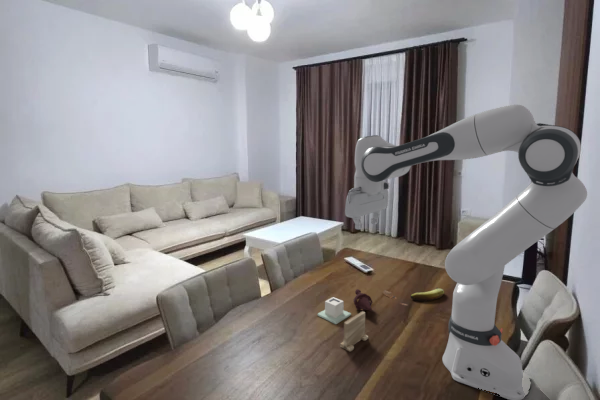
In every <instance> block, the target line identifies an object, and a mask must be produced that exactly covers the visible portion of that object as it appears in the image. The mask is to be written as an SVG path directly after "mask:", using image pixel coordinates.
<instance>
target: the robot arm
mask: <svg viewBox="0 0 600 400" xmlns="http://www.w3.org/2000/svg"><path fill="white" fill-rule="evenodd" d="M507 151H508V152H509V151H510V152H516V153H517V155H518V158H517V159H518V163H519V164H520V166H521V168H522V169H523V171H524V172H525V174H526V175H527V177H528V178H529V180H530V182H531V183H530V184H529V185H528V186H526V188H524V189H523V190H522V191H521V192H520V193H518V194H517V195H516V196H515V197H514V198H512V199H511V200H510V201H509V202H508V203H507V204H506V205H504V206H503V207H502V208H501V209H500V210H498V211H497V212H496V213H494V215H493V216H491V217H490V218H489V219H487V220H486V221H485V222H483V223H482V224H481V225H479V227H477V228H476V229H474V230H473V231H472V232H471V233H470V234H468V235H466V237H464V238H463V239H462V240H461V241H459V242H458V243H457V244H456V245H455V246H453V248H452V249H451V250H450V251H449V252H448V254H447V256H446V258H445V260H444V268H445V271H446V273H447V276H449V278H451V280H452V281H453V282H455V283H456V285H455V287H454V290H453V291H452V292H453V293H452V303H451V304H452V306H451V315H449V320H448V334H449V336H448V341H447V344H446V347H445V350H444V353H443V355H442V364H443V365H444V366H445V368H446V369H447V370H448V371H449V372H450V374H451V377H452V379H453V381H456V382H458V383H461V384H464V385H467V386H469V387H472V388H475V389H478V388H479V389H478V390H481V389H482V390H481V391H484V390H486V391H490V392H494V393H497V394H499V395H500V396H499V397H502V398H504V399H507V400H523V399H525V398H524V395H525V393H524V391H523V387H522V378H523V371H525V370H523V364H522V361H521V358H520V356H519V355H518V354H517V352H515V351H514V350H513V349H511V348H510V346H508V345H507V343H505V341H504V340H502V334H503V327H501V328H500V329H499V328H498V327H497V325H496V324H495V320H496V319H495V318H496V313H497V311H496V310H497V309H496V308H497V301H498V296H499V292H500V289H501V285H502V281H503V276H504V273H505V267H506V265H508V264H509V263H510V262H512V261H514V259H515V258H517V257H518V256H520V255H521V254H522V253H523V252H525V251H526V250H528V249H529V248H530V247H531V246H533V245H534V244H535V243H537V242H538V241H540V240H541V239H542V238H544V237H546V236H547V235H548V234H549V233H551V232H552V231H554V230H555V229H556V228H558V227H559V226H560V225H561V224H564V222H565V221H567V219H569V218H570V217H571V216H572V215H573V214H574V213H575V212H576V211H577V210H578V209H580V207H581V206H582V205H583V203H585V201H586V199H587V198H588V197H587V196H588V191H587V188H586V186H585V184H584V183H583V181H582V180H581V179H579V178H578V177H577V176H575V174H574V173H573V170H574V167H575V166H576V164H577V161H578V159H579V157H580V155H581V151H582V143H581V139H580V138H579V137H578V135H577V134H576V133H575V132H574V131H573V130H571V129H569V128H567V127H565V126H562V125H561V126H560V125H554V124H547V123H541V122H539V123H538V122H537V123H536V121H535V119H534V116H533V114H532V112H531V111H530V110H529V109H528V108H527V107H526V106H524V105H522V104H511V105H505V106H504V105H503V106H499V107H495V108H491V109H488V110H485V111H484V110H483V111H482V112H479V113H475V114H473V115H470V116H467V117H466V118H462V119H461V120H459V121H456V122H454V123H452V124H450V125H448V126H446V127H444V128H442V129H440V130H438V131H436V132H434V133H431V134H430V135H427V136H424V137H422V138H421V137H420V138H419V139H415V140H412V141H410V142H406V143H403V144H400V145H397V144H394V143H390V142H389V141H386V139H384V138H383V137H382V136H381V135H377V134H375V135H373V134H372V135H367V136H363V137H360V138H359V139H358V140H357V141H356V145H355V150H354V166H355V173H354V177H353V179H354V180H353V181H354V182H353V183H354V184H353V186H354V187H353V188H351V189H350V190H349V191H348V193H347V196H346V199H345V207H344V209H345V210H344V215H345V217H347V218H351V219H352V220H353V222H354V229H355V230H362V229H363V223H361V221H360V220H361V219H362V218H361V217H363V216H367V215H370V214H372V218H371V219H370V220H371V222H370V224H372V225H377V224H378V223H379V218H380V215H381V211H383V210H387V208H388V206H389V190H390V183H389V182H387V181H386V180H390V179H394V178H399V177H402V176H405V175H406V174H408V173H409V172H410V170H411V168H412V166H415V165H418V164H422V163H423V164H424V163H427V162H433V161H458V160H461V161H462V160H470V159H471V160H472V159H477V158H482V157H487V156H490V155H494V154H497V153H501V152H507ZM486 391H485V392H486Z"/></svg>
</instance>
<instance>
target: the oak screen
mask: <svg viewBox="0 0 600 400" xmlns="http://www.w3.org/2000/svg"><path fill="white" fill-rule="evenodd" d="M361 340H362V341H364V342H366V341H367V340H369V335H367V334H366V312H365V311H360V312H358V313H357V314H356V315H354V316H353V317H350V319H347V320H345V321H344V322H343V341H342V342H340V344H339V346H340V348H342V349H345V350H346V351H348V352H349V353H350V352H353V350H354V349H355V345H356V344H357V343H358V342H360V341H361Z"/></svg>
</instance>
